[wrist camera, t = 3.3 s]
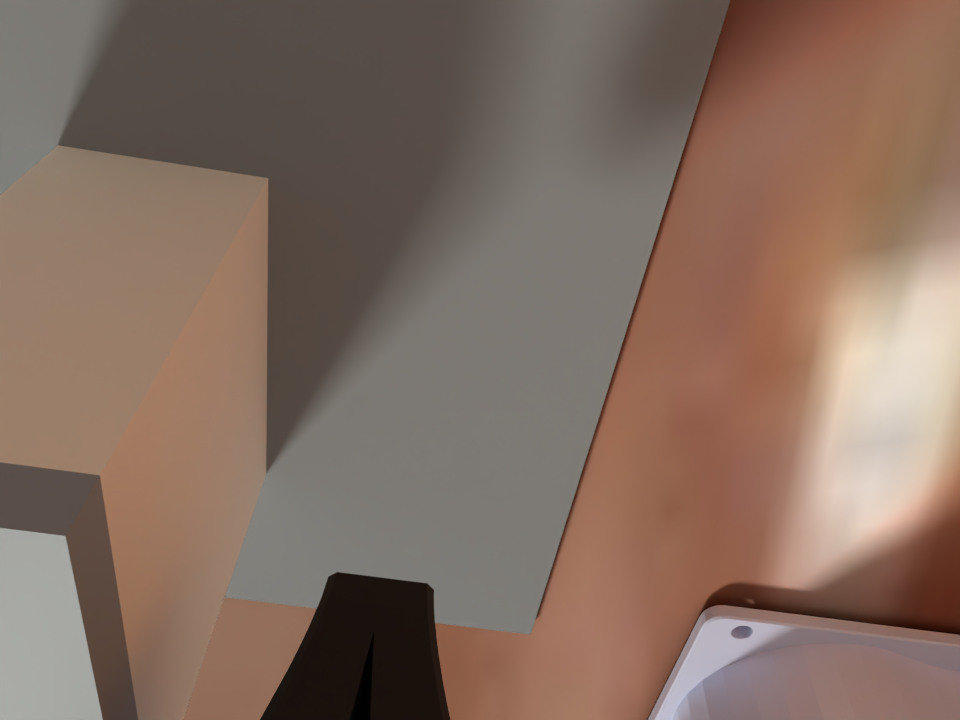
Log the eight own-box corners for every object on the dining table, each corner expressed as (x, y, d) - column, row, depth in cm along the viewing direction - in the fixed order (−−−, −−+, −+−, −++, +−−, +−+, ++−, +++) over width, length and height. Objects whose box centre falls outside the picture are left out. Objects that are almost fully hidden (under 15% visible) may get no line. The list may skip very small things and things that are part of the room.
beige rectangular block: (268, 177, 14) (65, 536, 8) (266, 473, 18) (132, 869, 12) (57, 145, 14) (-333, 486, 7) (103, 451, 18) (-123, 843, 12)
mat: (737, -42, 12) (742, -38, 12) (530, 624, 22) (530, 634, 21) (-746, -310, 11) (-775, -312, 11) (-281, 524, 20) (-291, 534, 20)
